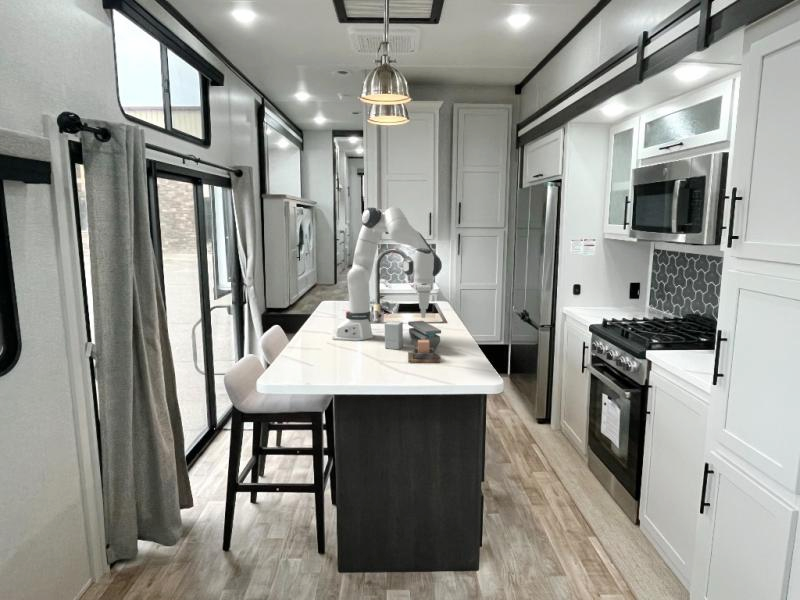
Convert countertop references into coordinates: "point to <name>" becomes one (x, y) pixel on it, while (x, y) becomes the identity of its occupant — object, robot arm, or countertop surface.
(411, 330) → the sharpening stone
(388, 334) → the supplement box
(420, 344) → the block
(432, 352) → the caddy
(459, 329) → the countertop surface
